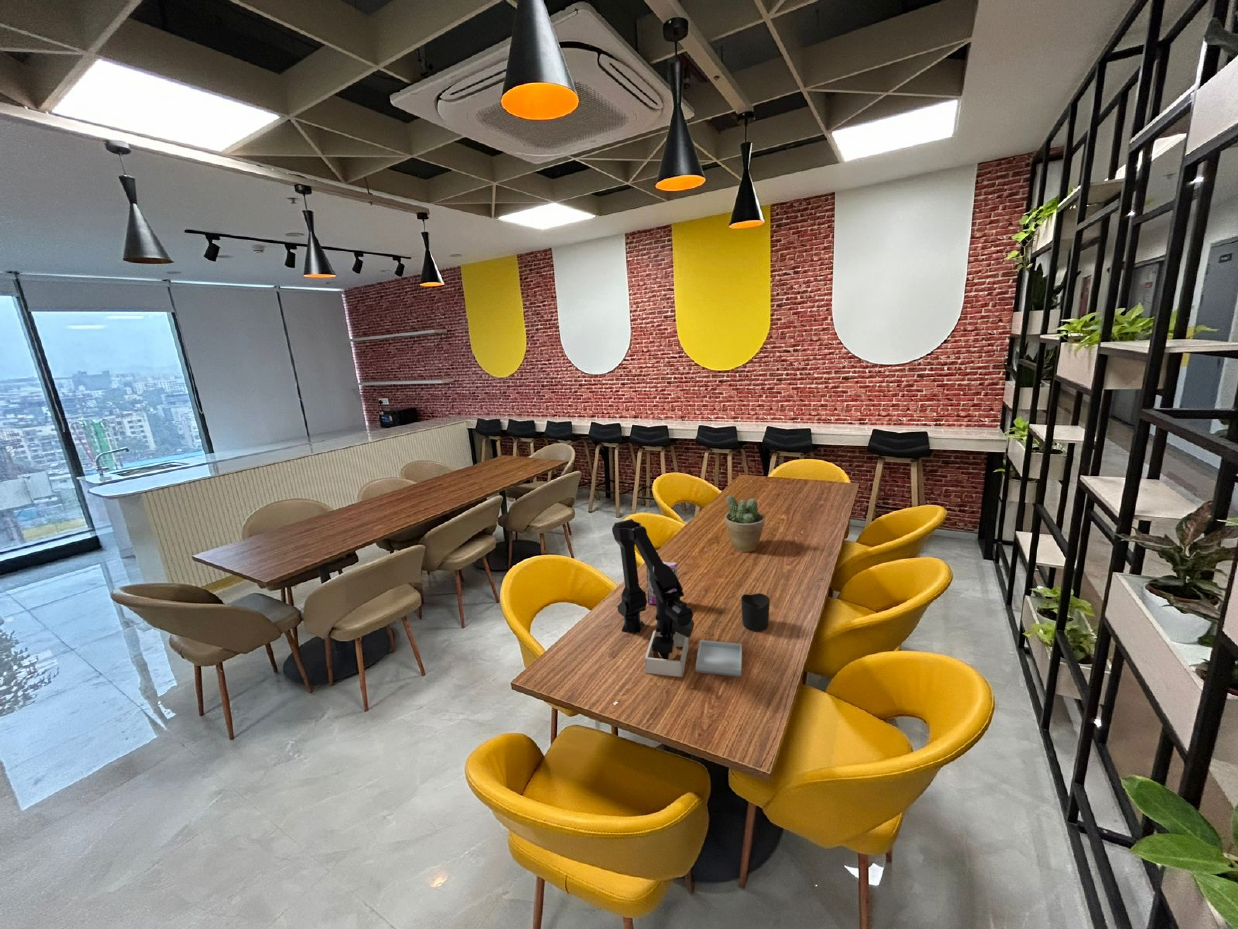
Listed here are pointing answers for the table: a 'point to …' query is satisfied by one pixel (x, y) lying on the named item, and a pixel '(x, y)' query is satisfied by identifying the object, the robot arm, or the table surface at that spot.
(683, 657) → the grey rectangular frame
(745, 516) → the potted plant
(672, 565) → the candy bar box
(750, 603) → the pen holder
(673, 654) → the ball
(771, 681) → the table surface
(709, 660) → the tray
